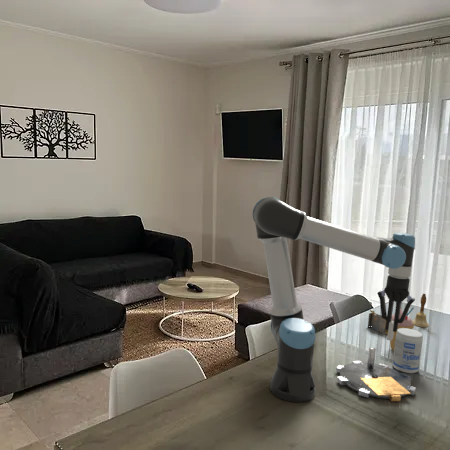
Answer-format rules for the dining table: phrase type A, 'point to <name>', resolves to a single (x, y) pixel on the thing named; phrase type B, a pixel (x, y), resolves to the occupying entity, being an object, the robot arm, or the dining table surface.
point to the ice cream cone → (401, 326)
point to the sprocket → (375, 379)
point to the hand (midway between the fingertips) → (390, 339)
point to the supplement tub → (407, 350)
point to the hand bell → (421, 314)
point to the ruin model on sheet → (377, 322)
